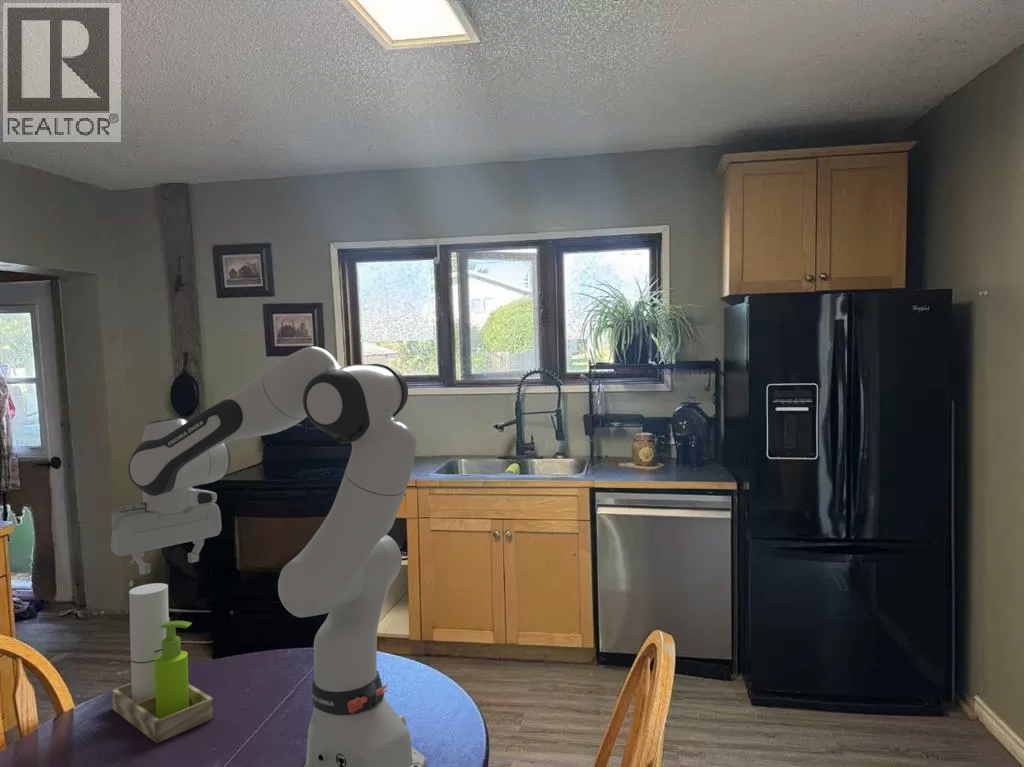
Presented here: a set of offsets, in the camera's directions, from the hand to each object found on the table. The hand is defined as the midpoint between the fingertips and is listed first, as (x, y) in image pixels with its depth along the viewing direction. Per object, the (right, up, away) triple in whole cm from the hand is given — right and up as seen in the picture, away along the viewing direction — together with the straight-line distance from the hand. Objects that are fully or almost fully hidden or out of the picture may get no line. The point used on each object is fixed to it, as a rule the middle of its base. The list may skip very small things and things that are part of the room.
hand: (169, 567), depth 129 cm
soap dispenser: (+1, -32, +1) cm, 32 cm away
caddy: (-4, -31, +4) cm, 32 cm away
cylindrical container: (-7, -32, +7) cm, 33 cm away
